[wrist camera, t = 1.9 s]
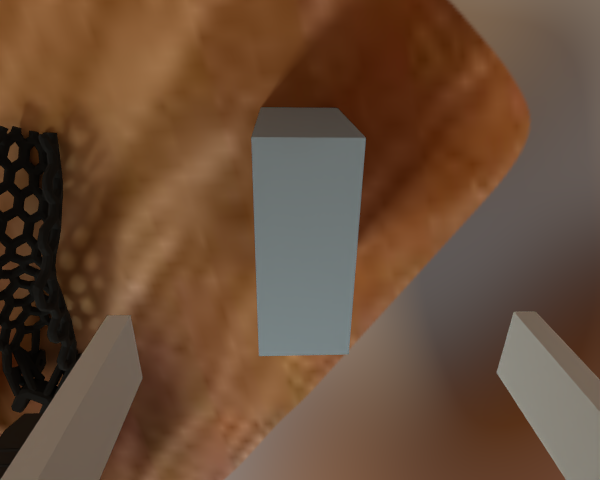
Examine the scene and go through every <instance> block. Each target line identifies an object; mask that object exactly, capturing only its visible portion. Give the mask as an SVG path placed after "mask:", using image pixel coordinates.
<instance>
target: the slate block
mask: <svg viewBox="0 0 600 480" xmlns="http://www.w3.org/2000/svg"><path fill="white" fill-rule="evenodd" d="M251 139H252V168H253V197H254V226H255V255H256V283H257V312H258V341H259V356H287V355H340V354H349V343H350V330H351V318H352V305H353V293H354V280H355V268H356V255H357V243H358V230H359V218H360V205H361V193H362V180H363V168H364V155H365V143H366V137H365V136H364V135H363V134H362V133H361V132H360V131H359V130H358V129H357V128H356V127H355V126H354V125H353V124H352V123H351V122H350V121H349V120H348V119H347V117H346V116H345V115H344V114H343V113H342V112H341V111H340V110H339V109H338V108H291V107H261V108H260V112H259V115H258V118H257V121H256V124H255V127H254V131H253V134H252V137H251Z"/></svg>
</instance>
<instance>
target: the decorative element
mask: <svg viewBox="0 0 600 480" xmlns="http://www.w3.org/2000/svg"><path fill="white" fill-rule="evenodd" d="M7 131H8V129H7V128H5V127H2V126H0V165H1V166H2V167H3V168H4V169H5V170H4V179H3V182H2V183H0V195H1V194H2V193H4V192H6V191H7V190H8V191H9V192H10V193H11V194H12V195H13V196H14V203H13V208H11V209H9V210H8V211H6V212H4V213H3V212H2V211H1V210H0V242H1V243H2V244H3V245H4V246H5V247H6V250H5V254H4V255H2V256H0V279H9V280H10V284H9V285H8V286H7V287H6V289H4V290H3V291H1V292H0V300H4V301H5V305H4V307H3V309H2V311H1V313H0V325H1V327H2V329H1V334H0V351H2V364H3V372H4V374H5V376H6V378H7V380H8V382H9V385H10V387H11V389H12V392H13V394H14V396H16V397H15V399H14V401H13V404H12V406H11V407H12V410H13V411H16V412H19V413H21V412H22V411H23V410H24V409H25V408H26V406H27V405H28V403H29V402H30V400H33V401H36V402H38V403H41V404H43V405H42V408H41V410H40V413H44V412H45V410H46V409H47V407H48V406H49V404H50V403H51V401H52V400H53V398H54V396H55V395H56V393H57V392H58V390H59V389H60V387H61V386H62V384H63V383H64V381H65V380H66V378H67V377H68V375H69V373H70V372H71V370H72V369H73V367H74V366H75V364H76V363H77V361H78V360H79V358H80V357H81V355H82V354H78V351H77V349H76V346H77V342H76V338H75V334H74V329H73V325H72V320H71V317H70V314H69V312H68V310H67V307H66V304H65V300H64V297H63V294H62V291H61V288H60V286H59V283H58V281H57V276H56V267H55V264H56V254H57V249H58V245H59V240H60V233H61V221H62V201H63V178H62V168H61V161H60V152H59V144H58V137H57V133H48V132H44V133H43V134H40V135H39V133H38V132H35V131H29V137H28V138H26V139H25V138H24V137H23V135H22V134H21V128H18V127H14V126H13V127H12V129H11V132H10V133H8V134H7ZM14 142H16V144H17V145H18V147H19V157H18V159H17V160H16V161H14V162H13V163H11V161H10V160H9V159H8V158H7V156H8V152H9V148H10V146H11V145H12V144H13V143H14ZM33 146H35V147H36V149H37V150H38V153H39V164H37V165H36V166H34V165H33V164H32V163H31V162H30V161H29V157H30V149H31V148H32V147H33ZM22 168H24V169H25V170H26V171H27V173H28V174H29V185H28V186H27V187H25V188H24V189H22V190H20V189H19V188H18V187H17V186H16V185H15V184H14V180H15V173H16V172H17V171H18V170H20V169H22ZM43 172H44V174H43V178H42V189H41V188H40V187H39V179H40V175H41V174H42V173H43ZM32 194H34V195H35V196H36V197H37V198H38V200H39V207H38V211H37V212H35V213H34V214H32V215H30V214H28V213H27V212H26V211H25V210H24V201H25V198H26V197H28V196H30V195H32ZM16 216H18V217H19V218H20V219H22V220H23V221H24V222H25V223H24V229H23V234H22V235H20V236H18V237H16V238H14V239H11V238H10V237H9V236H8V235H7V234H5V231H6V226H7V222H8V221H9V220H11V219H13V218H14V217H16ZM41 219H42V220H43V222H44V223H43V225H42V226H41V228H40V229H39V234H38V240H36V239H35V238H34V237H33V230H34V224H35V223H36V222H38V221H40V220H41ZM24 243H27V244H28V245H29V246H30V247H31V249H32V252H31V255H28V256H24V257H23V256H21V255H18V254H16V248H17V247H19V246H20V245H22V244H24ZM41 253H42V255H43V256H41ZM10 261H12V262H15V263H17V264H19V266H18V267H16V268H14V269H12V270H2V266H4V265H5V264H7V263H8V262H10ZM30 263H35V264H36V265H38V266H39V267H40V269H41V270H39V269H36V268H34V267H32V266H29V264H30ZM24 273H26V274H28V275H31V276H33V277H34V278H35V281H25V280H21V279H20V277H19V276H20V275H22V274H24ZM18 288H24V289H28V290H29V293H30V294H29V295H27V296H26V297H25V298H23V299H14V297H13V294H14V293H15V291H16V290H17V289H18ZM43 290H44V291H46V292H47V293H48V294H49V296H47V295H45V294H44V291H43ZM34 300H35V303H36V307H32V305H31V303H32V302H33V301H34ZM14 307H22V308H23V311H22V312H21V313H20V314H19V316H18V317H17V318H16V319H15V320H13V321H9V316H10V314H11V312H12V310H13V308H14ZM48 314H51V316H52V318H49V315H48ZM30 315H35V316H39V317H40V320H39V321H38V322H36V323H35V324H34V325H31V326H25V325H24V322H25V321H26V319H27V318H28V317H29V316H30ZM45 325H47V326H48V331H47V336H48V339H49V341H50V342H53V343H60V342H61V344H62V346H61V349H60V352H59V356H58V359H57V363H58V364H57V366H56V368H55V370H54V372H53V374H52V376H51V378H50V380H49V382H47V381H45V380H44V379H45V377H44V376H43V374H42V373H41V372H42V371H43V369H44V367H45V365H46V356H45V351H44V350H39V342H40V329H41V328H42V327H43V326H45ZM13 328H16V333H15V336H14V338H13V340H12V342H11V344H9V338H10V333H11V329H13ZM29 333H32V348H31V351H29V352H27V351H26V350H24V349H23V348H22V347H20V343H21V341H22V339H23V337H24V335H25V334H29ZM12 352H13V354H14V357H15V359H16V361H17V363H18V365H19V366H17V367H13V368H12ZM21 374H22V375H23V376H22V375H21ZM62 374H63V377H62V379H61V381H60V383H59V385H58V386H56V385H57V384H58V382H59V380H60V378H61V376H62ZM33 377H34V378H33ZM20 385H21V386H23V387H22V388H20Z"/></svg>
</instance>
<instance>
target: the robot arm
mask: <svg viewBox="0 0 600 480" xmlns="http://www.w3.org/2000/svg"><path fill="white" fill-rule="evenodd" d="M497 374H498V375H499V377H500V379H501V380H502V381H503V383H504V385H505V386H506V388H507V389H508V391H509V392H510V394H511V396H512V397H513V399H514V400H515V402H516V403H517V405H518V406H519V408H520V409H521V411H522V412H523V414H524V416H525V417H526V418H527V420H528V422H529V423H530V425H531V426H532V428H533V429H534V431H535V433H536V434H537V435H538V437H539V439H540V440H541V442H542V443H543V445H544V446H545V448H546V450H547V451H548V453H549V454H550V456H551V457H552V459H553V460H554V462H555V463H556V465H557V466H558V468H559V469H560V471H561V473H562V474H563V476H564V477H565V479H566V480H600V380H599V379H598V377H597V376H596V375H595V374H594V373H593V372H592V371H591V370H590V369H589V368H588V367H587V366H586V365H585V364H584V363H583V362H582V360H581V359H579V357H578V356H577V355H576V354H575V353H574V352H573V351H572V350H571V349H570V348H569V347H568V346H567V345H566V344H565V342H564V341H563V340H562V339H561V338H560V337H559V336H558V335H557V334H556V333H555V332H554V331H553V330H552V329H551V328H550V327H549V326H548V325H547V323H546V322H545V321H544V320H543V319H542V318H541V317H540V316H539V315H538V314H537V313H536V312H514V313H513V317H512V320H511V324H510V328H509V331H508V334H507V338H506V342H505V345H504V349H503V352H502V356H501V360H500V363H499V367H498V370H497ZM142 378H143V377H142V372H141V367H140V362H139V357H138V351H137V346H136V341H135V336H134V331H133V326H132V320H131V315H107V317H106V318H105V320H104V321H103V323H102V324H101V326H100V327H99V329H98V330H97V332H96V333H95V335H94V337H93V338H92V340H91V341H90V343H89V344H88V346H87V347H86V349H85V350H84V352H83V353H82V355H81V357H80V358H79V360H78V361H77V363H76V364H75V366H74V367H73V369H72V370H71V372H70V373H69V375H68V377H67V378H66V380H65V381H64V383H63V384H62V386H61V387H60V389H59V390H58V392H57V393H56V395H55V396H54V398H53V400H52V401H51V403H50V404H49V406H48V407H47V409H46V410H45V412H44V413H33V414H24V415H23V416H21V417H20V418H19V419H18V420H17V421H15V422H14V423H13V424H12V425H11V426H9V427H8V428H7V429H6V430H5V431H4V432H3V434H2V435H1V436H0V480H100V477H101V475H102V473H103V470H104V468H105V466H106V463H107V461H108V459H109V456H110V454H111V451H112V449H113V447H114V444H115V442H116V440H117V437H118V435H119V433H120V430H121V428H122V425H123V423H124V421H125V418H126V416H127V414H128V411H129V409H130V407H131V404H132V402H133V399H134V397H135V395H136V392H137V390H138V388H139V385H140V383H141V381H142Z"/></svg>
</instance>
